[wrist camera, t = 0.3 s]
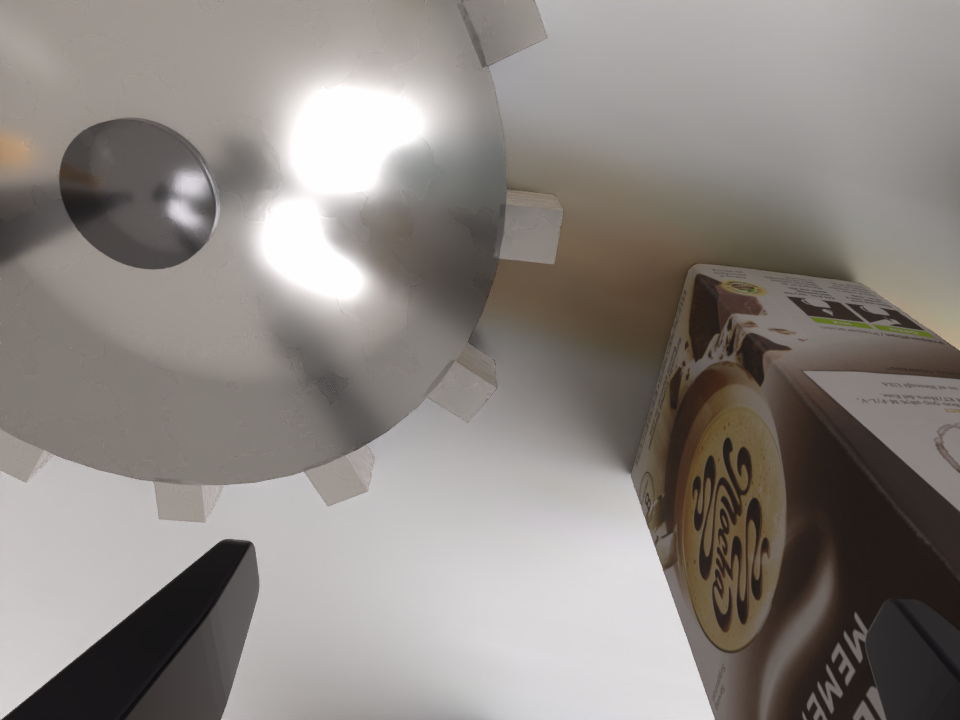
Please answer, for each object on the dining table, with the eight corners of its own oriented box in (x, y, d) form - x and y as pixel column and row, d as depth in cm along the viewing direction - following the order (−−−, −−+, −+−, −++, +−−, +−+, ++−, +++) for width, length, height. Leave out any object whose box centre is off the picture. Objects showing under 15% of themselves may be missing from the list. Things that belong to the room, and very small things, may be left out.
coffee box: (682, 258, 22) (1068, 685, 8) (866, 280, 23) (1561, 725, 8) (623, 479, 26) (804, 1031, 12) (780, 494, 27) (1142, 1047, 12)
